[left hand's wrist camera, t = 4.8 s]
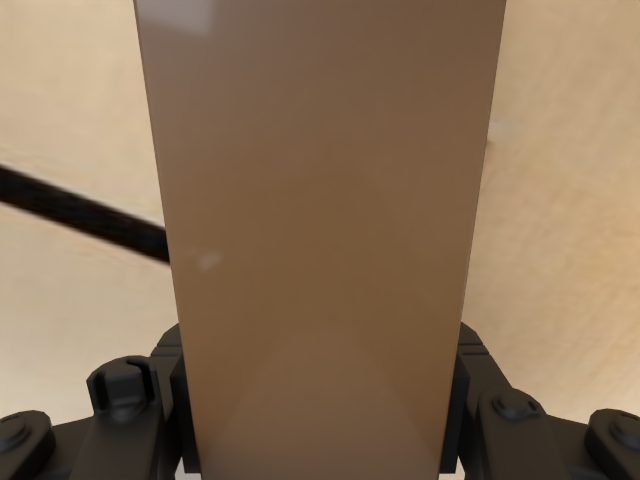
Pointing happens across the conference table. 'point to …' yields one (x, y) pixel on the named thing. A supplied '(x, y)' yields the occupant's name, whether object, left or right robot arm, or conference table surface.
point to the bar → (319, 222)
